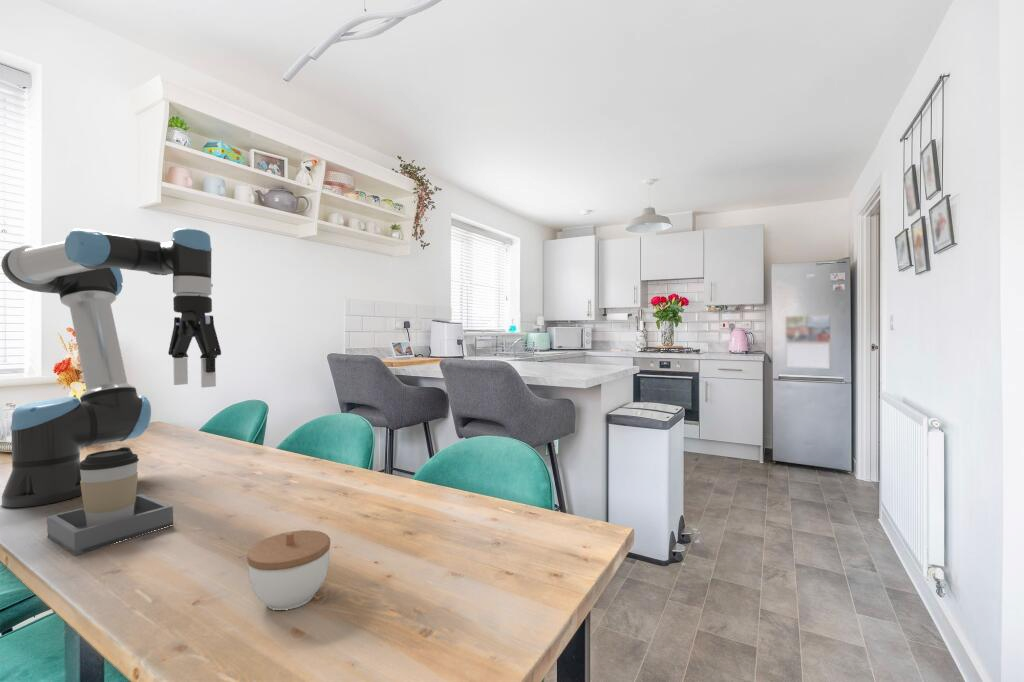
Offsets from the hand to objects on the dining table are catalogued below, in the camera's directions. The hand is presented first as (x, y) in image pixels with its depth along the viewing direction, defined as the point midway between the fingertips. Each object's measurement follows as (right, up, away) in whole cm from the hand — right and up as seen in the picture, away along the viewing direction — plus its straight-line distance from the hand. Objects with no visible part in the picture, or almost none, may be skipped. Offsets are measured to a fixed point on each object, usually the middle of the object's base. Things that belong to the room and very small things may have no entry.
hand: (194, 385), depth 111 cm
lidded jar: (+44, -27, -44) cm, 67 cm away
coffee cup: (-4, -26, -19) cm, 32 cm away
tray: (-3, -27, -19) cm, 33 cm away
